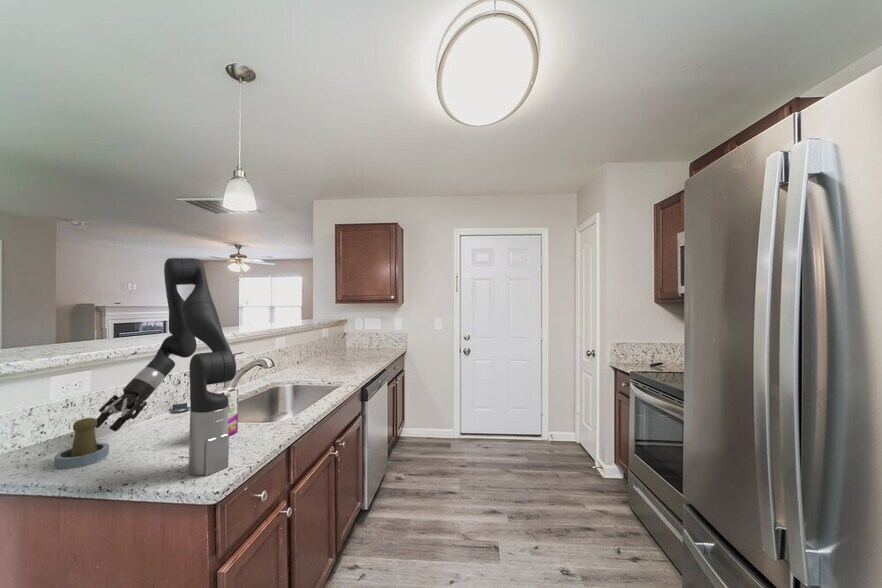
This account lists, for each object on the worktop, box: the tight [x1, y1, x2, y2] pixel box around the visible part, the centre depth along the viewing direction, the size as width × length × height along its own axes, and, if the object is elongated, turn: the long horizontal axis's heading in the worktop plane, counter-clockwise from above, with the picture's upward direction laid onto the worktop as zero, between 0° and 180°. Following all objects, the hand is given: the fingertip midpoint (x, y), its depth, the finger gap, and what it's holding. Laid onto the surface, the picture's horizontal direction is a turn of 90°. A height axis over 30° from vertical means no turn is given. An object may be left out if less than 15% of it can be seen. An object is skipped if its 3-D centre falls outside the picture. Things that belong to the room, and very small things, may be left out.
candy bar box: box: [211, 386, 239, 437], centre depth 123 cm, size 11×5×16 cm, turn 171°
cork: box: [70, 417, 98, 457], centre depth 106 cm, size 6×6×11 cm
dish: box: [53, 442, 110, 470], centre depth 104 cm, size 11×11×3 cm
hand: (103, 428), depth 109 cm, fingers open, 8 cm apart
